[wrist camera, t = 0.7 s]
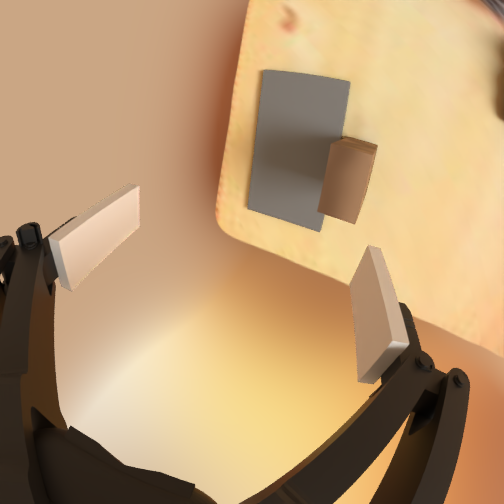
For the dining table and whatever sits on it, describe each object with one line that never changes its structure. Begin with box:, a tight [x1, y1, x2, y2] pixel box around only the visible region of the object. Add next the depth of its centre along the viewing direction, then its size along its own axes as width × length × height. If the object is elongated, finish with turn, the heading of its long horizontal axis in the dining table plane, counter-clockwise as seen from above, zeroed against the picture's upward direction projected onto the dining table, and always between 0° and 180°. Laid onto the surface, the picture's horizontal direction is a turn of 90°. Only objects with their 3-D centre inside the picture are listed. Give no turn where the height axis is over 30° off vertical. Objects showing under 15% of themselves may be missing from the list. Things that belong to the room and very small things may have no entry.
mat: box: [248, 70, 350, 232], centre depth 36 cm, size 12×22×1 cm, turn 174°
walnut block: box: [317, 137, 378, 224], centre depth 29 cm, size 4×7×12 cm, turn 174°
